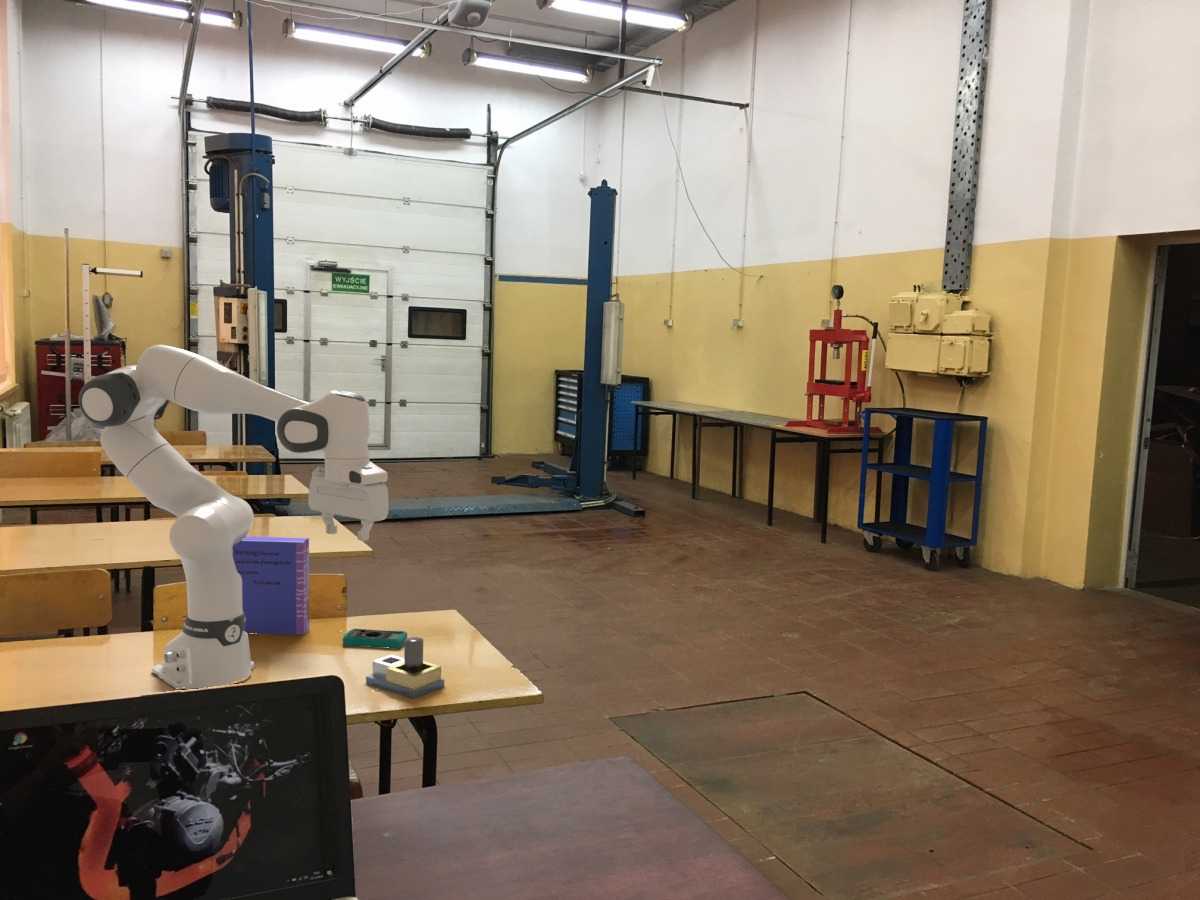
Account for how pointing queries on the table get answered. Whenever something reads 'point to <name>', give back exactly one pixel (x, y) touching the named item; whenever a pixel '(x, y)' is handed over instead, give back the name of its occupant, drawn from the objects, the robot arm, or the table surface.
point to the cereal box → (274, 584)
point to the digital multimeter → (374, 638)
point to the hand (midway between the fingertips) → (347, 536)
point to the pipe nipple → (413, 655)
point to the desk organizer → (404, 677)
